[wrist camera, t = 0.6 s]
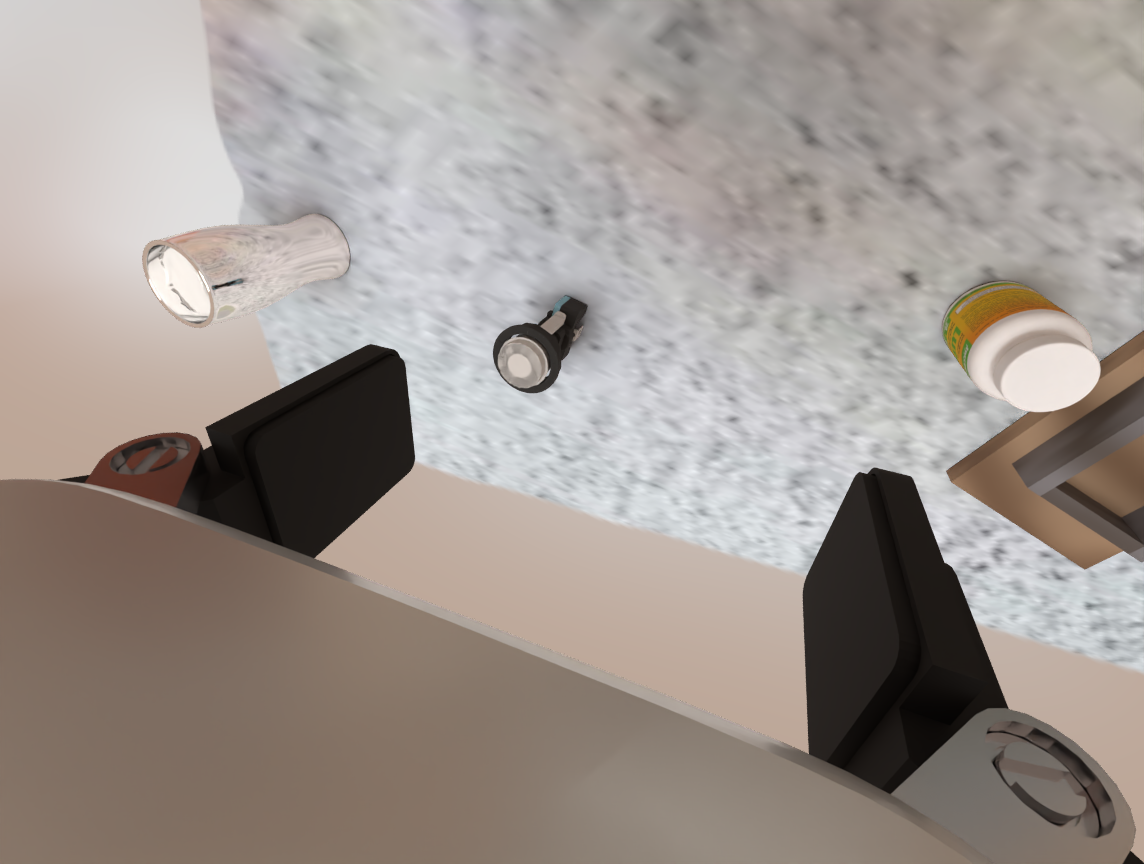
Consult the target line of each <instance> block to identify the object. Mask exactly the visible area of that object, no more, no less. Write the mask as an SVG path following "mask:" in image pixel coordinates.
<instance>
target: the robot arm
mask: <svg viewBox="0 0 1144 864" xmlns="http://www.w3.org/2000/svg"><path fill="white" fill-rule="evenodd" d="M206 430H207V433H208V436H209V439H210V441H211V444H212V446H210V447H208V448H206V449H205V450H203V448H202V445H201V443H200V441H199V440H198V439H197V438H196V437H194V436H192V435H190V434H184V433H178V432H176V433H160V434H154V435H148V436H145V437H141V438H138V439H134V440H131V441H129V442H127V443H124V444H122V445H119V446H118V447H116V448H114V449H113V450H111V451H110V452H108V453H107V454H106V455H105V456H104V457H103V458H102V459H101V460H100V461H99V463H98V464H97V465H96V467H95V468H94V470H93V471H92V473H91V474H90V475H87V476H79V477H74V478H67V479H60V480H42V479H41V480H40V479H9V480H0V864H1144V863H1143V862H1142V861H1141V860H1140V859H1139V858H1138V857H1137V856H1135V855H1134V853H1132V852H1131V851H1130V850H1131V849H1132V847H1133V843H1134V838H1135V833H1136V828H1135V824H1134V820H1133V817H1132V813H1131V809H1130V807H1129V805H1128V804H1127V802H1126V800H1125V799H1124V797H1123V795H1122V793H1121V792H1120V790H1119V788H1118V787H1117V785H1116V784H1115V783H1114V781H1113V780H1112V779H1111V778H1110V777H1109V776H1108V774H1107V773H1106V772H1105V771H1104V770H1103V768H1102V767H1101V766H1100V765H1099V764H1098V763H1097V762H1096V761H1095V760H1094V759H1093V758H1092V757H1091V756H1090V755H1089V754H1087V753H1086V752H1085V751H1084V750H1083V749H1082V748H1081V747H1080V746H1078V745H1077V744H1076V743H1075V742H1074V741H1072V740H1071V739H1070V738H1068V737H1066V736H1065V735H1064V734H1062V733H1061V732H1059V731H1057V730H1056V729H1055V728H1053V727H1052V726H1050V725H1048V724H1046V723H1044V722H1042V721H1040V720H1038V719H1036V718H1034V717H1032V716H1030V715H1028V714H1025V713H1021V712H1017V711H1013V710H1010V709H1008V706H1007V704H1006V701H1005V698H1004V696H1003V693H1002V691H1001V688H1000V686H999V683H998V680H997V678H996V675H995V673H994V670H993V667H992V665H991V662H990V660H989V657H988V655H987V652H986V650H985V647H984V644H983V642H982V640H981V637H980V635H979V632H978V629H977V626H976V624H975V621H974V619H973V616H972V614H971V611H970V608H969V606H968V603H967V601H966V598H965V596H964V593H963V590H962V588H961V585H960V583H959V580H958V578H957V575H956V573H955V572H954V570H953V568H952V567H951V566H949V565H948V564H946V563H944V561H943V558H942V555H941V553H940V550H939V547H938V544H937V542H936V539H935V536H934V534H933V531H932V528H931V526H930V523H929V520H928V518H927V515H926V512H925V510H924V507H923V504H922V502H921V499H920V496H919V493H918V491H917V488H916V485H915V483H914V480H913V479H912V477H911V476H907V475H903V474H899V473H895V472H891V471H887V470H883V469H879V468H873V469H871V471H870V472H869V473H868V474H865V473H861V472H859V473H858V474H857V475H856V476H855V478H854V479H853V481H852V483H851V486H850V488H849V490H848V492H847V494H846V496H845V498H844V500H843V502H842V504H841V506H840V508H839V510H838V512H837V515H836V517H835V519H834V521H833V523H832V525H831V527H830V529H829V531H828V533H827V535H826V537H825V539H824V541H823V544H822V546H821V548H820V550H819V552H818V554H817V556H816V558H815V560H814V562H813V564H812V566H811V568H810V570H809V573H808V575H807V577H806V580H805V583H804V588H803V617H804V640H805V641H804V642H805V667H806V692H807V717H808V743H809V754H807V753H805V752H803V751H801V750H799V749H796V748H794V747H792V746H790V745H787V744H785V743H783V742H781V741H778V740H776V739H773V738H771V737H769V736H766V735H764V734H761V733H759V732H756V731H754V730H751V729H749V728H747V727H744V726H742V725H739V724H737V723H734V722H732V721H729V720H727V719H725V718H722V717H720V716H717V715H714V714H712V713H710V712H707V711H705V710H703V709H700V708H698V707H695V706H693V705H690V704H688V703H685V702H683V701H681V700H678V699H676V698H673V697H670V696H668V695H666V694H663V693H661V692H658V691H655V690H653V689H650V688H648V687H645V686H643V685H640V684H637V683H635V682H632V681H630V680H627V679H624V678H622V677H620V676H617V675H614V674H612V673H610V672H607V671H604V670H602V669H599V668H597V667H594V666H591V665H589V664H586V663H584V662H581V661H579V660H576V659H574V658H571V657H568V656H566V655H563V654H561V653H558V652H556V651H553V650H551V649H548V648H545V647H543V646H540V645H538V644H535V643H533V642H530V641H528V640H525V639H522V638H520V637H517V636H515V635H512V634H509V633H507V632H505V631H502V630H499V629H497V628H494V627H492V626H489V625H486V624H484V623H481V622H478V621H476V620H473V619H471V618H468V617H465V616H463V615H460V614H458V613H455V612H453V611H450V610H447V609H444V608H442V607H439V606H437V605H434V604H432V603H429V602H427V601H424V600H421V599H419V598H416V597H413V596H411V595H408V594H406V593H403V592H401V591H398V590H395V589H393V588H390V587H388V586H385V585H382V584H380V583H377V582H374V581H372V580H369V579H367V578H364V577H361V576H359V575H356V574H354V573H351V572H348V571H346V570H343V569H340V568H338V567H335V566H332V565H330V564H327V563H325V562H322V561H319V560H316V559H314V558H315V557H316V556H317V555H318V554H319V553H321V552H322V551H323V550H324V549H325V548H326V547H327V546H328V545H329V544H330V543H331V542H333V541H334V540H335V539H336V538H337V537H338V536H339V535H340V534H342V533H343V532H344V531H345V530H346V529H347V528H348V527H349V526H350V525H351V524H353V523H354V522H355V521H356V520H357V519H358V518H359V517H360V516H361V515H362V514H364V513H365V512H366V511H367V510H368V509H369V508H370V507H371V506H373V505H374V504H375V503H376V502H377V501H378V500H379V499H380V498H381V497H382V496H384V495H385V494H386V493H387V492H388V491H389V490H390V489H391V488H392V487H393V486H395V485H396V484H397V483H398V482H399V481H400V480H401V479H402V478H403V477H405V476H406V475H407V474H408V473H409V472H410V471H411V469H412V467H413V465H414V461H415V452H414V443H413V433H412V424H411V414H410V405H409V396H408V386H407V377H406V367H405V363H404V361H403V359H401V358H400V356H399V354H398V352H397V351H395V350H393V349H389V348H385V347H381V346H377V345H372V344H370V345H366V346H365V347H363V348H361V349H359V350H357V351H355V352H353V353H351V354H349V355H347V356H345V357H343V358H341V359H339V360H337V361H335V362H333V363H331V364H329V365H327V366H325V367H323V368H321V369H319V370H317V371H315V372H313V373H311V374H309V375H307V376H306V377H304V378H302V379H300V380H298V381H296V382H294V383H292V384H290V385H288V386H286V387H284V388H282V389H280V390H278V391H276V392H274V393H272V394H270V395H268V396H266V397H264V398H262V399H260V400H258V401H256V402H254V403H252V404H250V405H249V406H247V407H245V408H243V409H241V410H239V411H237V412H235V413H233V414H231V415H229V416H227V417H225V418H223V419H221V420H219V421H217V422H215V423H213V424H211V425H209V426H207V427H206Z"/></svg>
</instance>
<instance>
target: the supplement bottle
mask: <svg viewBox="0 0 1144 864" xmlns="http://www.w3.org/2000/svg"><path fill="white" fill-rule="evenodd" d="M942 334H943V338H944V341H945V343H946V345H947V346H948V348H949V349H950V351H951V352H952V353H953V355H954V356H955V357H956V359H957V360H958V362H959V363H960V365H961V366H962V368H963V369H964V370H965V372H966V373H967V374H968V376H969V377H970V379H971V380H972V381H973V382H974V384H975V385H976V386H977V387H978V388H979V389H980V390H981V391H983V392H984V393H986V394H987V395H989V396H991V397H994V398H996V399H1000V400H1004V401H1008V402H1009V403H1010V404H1011V405H1013V406H1015V407H1017V408H1019V409H1022V410H1025V411H1031V412H1049V411H1055V410H1059V409H1062V408H1065V407H1068V406H1070V405H1073V404H1074V403H1076V402H1078V401H1080V400H1081V399H1082V398H1084V397H1085V396H1086V395H1087V394H1088V393H1090V392H1091V391H1092V389H1093V388H1094V387H1095V385H1096V384H1097V382H1098V380H1099V377H1100V371H1101V369H1100V363H1099V360H1098V358H1097V356H1096V355H1095V354H1094V353H1093V352H1092V340H1091V337H1090V335H1089V333H1088V331H1087V330H1086V328H1085V327H1084V326H1083V325H1082V324H1081V323H1080V322H1079V321H1078V320H1076V319H1075V318H1074V317H1072V316H1071V315H1069V314H1068V313H1066V312H1065V311H1063V310H1062V309H1060V308H1059V307H1057V306H1056V305H1054V304H1053V303H1052V302H1050V301H1049V300H1047V299H1046V298H1044V297H1043V296H1042V295H1040V294H1039V293H1037V292H1036V291H1034V290H1033V289H1031V288H1029V287H1027V286H1025V285H1023V284H1020V283H1016V282H1009V281H999V282H992V283H987V284H984V285H981V286H978V287H976V288H974V289H972V290H970V291H968V292H966V293H965V294H963V295H962V296H961V297H959V298H958V299H957V300H956V301H955V302H954V303H953V304H952V305H951V307H950V308H949V309H948V311H947V313H946V315H945V317H944V320H943V324H942Z"/></svg>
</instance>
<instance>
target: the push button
mask: <svg viewBox="0 0 1144 864" xmlns="http://www.w3.org/2000/svg"><path fill="white" fill-rule="evenodd" d="M586 309H587V305H585V304H583V303H581V302H579V301H576V300H574V299H572V298H570V297H568V296H564V297H563V298H562V299H561V300H559V301H558V302H557V303H556V305H555V307H554V310H553V311H549V312H548V313H547V317H546V318H544V319H543V320H542V321H541V322H540V323H539V324H538V325H537V324H531V323H524V324H522V325H514V326H511V327H509V328H507V329H506V330H504V331H503V332H502V333H501V334H500V335H499V336H498V338H497V339H496V341H495V344H494V348H493V358H494V363H495V366H496V368H497V370H498V372H499V374H500V375H501V377H502V378H503V379H504V380H505V381H506V382H507V383H508V384H509V385H510V386H512V387H513V388H515V389H517V390H519V391H522V392H526V393H538V392H542V391H544V390H546V389H548V388H549V387H550V386H551V385H552V384H553V383H554V382H555V380H556V379H557V377H558V374H559V371H560V369H561V360H563V359H564V358H565V357H566V356H567V355H568V353H569V350H570V347H569V345H570V344H571V342H572V341H575V340H576V339H577V338H578V337H579V336H580V334H581V331H582V329H583V326H581V327H580V328H579V329H578V330H576V329H575V328H576V325H577V323H578V322H579V321H580V319H581V318H582V317H583V316H584V314H585V312H586ZM516 334H519V335H518V336H517V337H514V338H511V337H512V336H513V335H516ZM550 369H551V370H550ZM549 370H550V374H549V376H547V377H546V374H547V372H548V371H549Z"/></svg>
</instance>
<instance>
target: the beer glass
mask: <svg viewBox="0 0 1144 864" xmlns="http://www.w3.org/2000/svg"><path fill="white" fill-rule="evenodd" d="M142 261H143V269H144V272H145V275H146V278H147V281H148V283H149V285H150V287H151V289H152V291H153V293H154V294H155V296H156V297H157V299H158V300H159V301H160V303H161V304H162V305H163V306H164V307H165V308H166V310H168V311H169V313H170V314H172V315H173V316H174V317H175V318H176V319H178V320H179V321H181V322H182V323H184V324H186V325H189V326H191V327H195V328H202V327H206V326H208V325H211V324H215V323H219V322H224V321H228V320H231V319H235V318H239V317H242V316H245V315H248V314H251V313H254V312H256V311H259V310H261V309H264V308H266V307H268V306H270V305H272V304H273V303H275V302H277V301H279V300H281V299H282V298H284V297H285V296H287V295H289V294H290V293H292V292H293V291H295V290H297V289H298V288H300V287H302V286H303V285H305V284H307V283H310V282H313V281H317V280H326V279H335V278H338V277H341V276H342V275H343V274H344V273H345V272H346V271H347V269H348V267H349V263H350V253H349V247H348V244H347V241H346V239H345V237H344V235H343V233H342V232H341V230H340V229H339V228H338V227H337V225H336V224H335V223H334V222H332V221H331V220H330V219H329V218H327V217H325V216H323V215H320V214H309V215H306V216H303V217H301V218H299V219H297V220H295V221H293V222H291V223H287V224H282V225H221V226H214V227H207V228H202V229H197V230H193V231H188V232H185V233H181V234H177V235H174V236H170V237H167V238H163V239H160V240H154V241H151V242H150V243H148V244H147V245H146V247H145V248H144V251H143V256H142Z"/></svg>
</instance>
